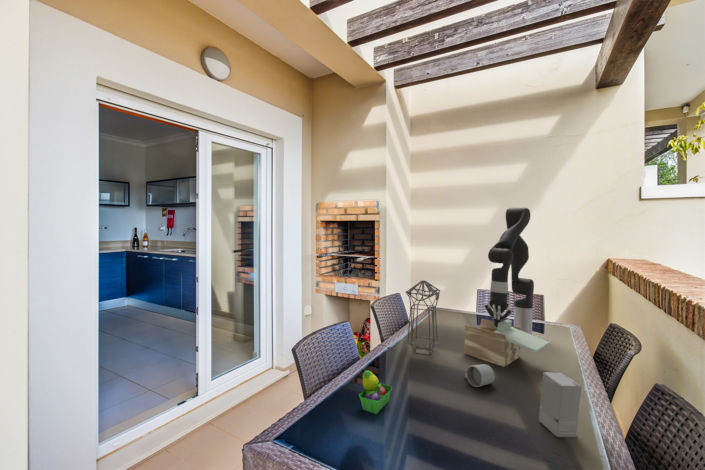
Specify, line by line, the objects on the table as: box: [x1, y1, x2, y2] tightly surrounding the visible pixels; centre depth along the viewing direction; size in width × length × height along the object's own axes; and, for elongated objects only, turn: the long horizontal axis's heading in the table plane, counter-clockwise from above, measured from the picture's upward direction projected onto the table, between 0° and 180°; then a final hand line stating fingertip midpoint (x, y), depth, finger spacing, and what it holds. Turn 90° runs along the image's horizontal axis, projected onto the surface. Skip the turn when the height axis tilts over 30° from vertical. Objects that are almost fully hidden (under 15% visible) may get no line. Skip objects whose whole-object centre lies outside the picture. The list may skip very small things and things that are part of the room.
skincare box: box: [538, 371, 582, 438], centre depth 95 cm, size 8×7×16 cm
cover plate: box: [494, 318, 550, 354], centre depth 140 cm, size 15×18×5 cm
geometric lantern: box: [405, 279, 441, 356], centre depth 155 cm, size 16×16×35 cm
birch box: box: [463, 318, 521, 368], centre depth 151 cm, size 17×19×14 cm
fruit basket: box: [358, 369, 393, 415], centre depth 107 cm, size 11×9×11 cm
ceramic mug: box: [464, 363, 496, 388], centre depth 124 cm, size 11×8×8 cm
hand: (497, 326), depth 148 cm, fingers closed
